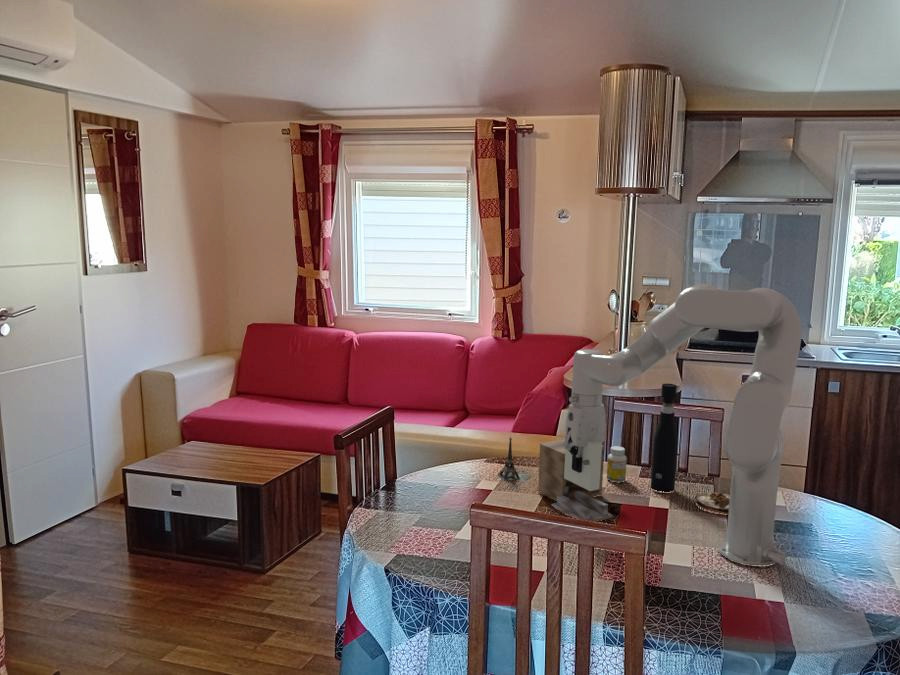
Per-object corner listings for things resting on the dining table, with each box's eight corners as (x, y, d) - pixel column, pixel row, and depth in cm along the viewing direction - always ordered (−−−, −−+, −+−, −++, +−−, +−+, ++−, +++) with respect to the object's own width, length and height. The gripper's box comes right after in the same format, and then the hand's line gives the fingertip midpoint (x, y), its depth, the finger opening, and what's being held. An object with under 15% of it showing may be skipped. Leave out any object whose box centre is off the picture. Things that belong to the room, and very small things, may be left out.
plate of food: (762, 517, 185) (764, 501, 184) (711, 522, 181) (712, 506, 180) (726, 496, 199) (728, 481, 198) (678, 500, 195) (679, 485, 194)
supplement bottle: (624, 484, 205) (626, 452, 203) (605, 482, 207) (606, 449, 205) (626, 478, 210) (628, 446, 208) (607, 476, 212) (609, 444, 210)
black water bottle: (671, 486, 204) (678, 382, 199) (676, 494, 198) (683, 388, 193) (648, 485, 205) (655, 381, 200) (652, 493, 198) (659, 387, 194)
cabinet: (636, 512, 185) (640, 459, 183) (585, 525, 176) (587, 471, 174) (577, 484, 205) (579, 436, 202) (528, 495, 196) (529, 445, 193)
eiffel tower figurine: (515, 490, 200) (516, 444, 198) (482, 483, 205) (484, 438, 203) (536, 474, 213) (538, 431, 211) (506, 468, 218) (507, 425, 216)
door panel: (599, 489, 180) (602, 442, 178) (587, 491, 178) (590, 445, 176) (572, 476, 188) (575, 432, 186) (560, 478, 186) (563, 434, 184)
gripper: (571, 406, 172) (566, 479, 175) (621, 399, 180) (616, 469, 183) (551, 399, 178) (547, 470, 181) (600, 392, 187) (596, 460, 190)
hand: (582, 469), depth 182 cm, fingers closed on door panel, 3 cm apart
